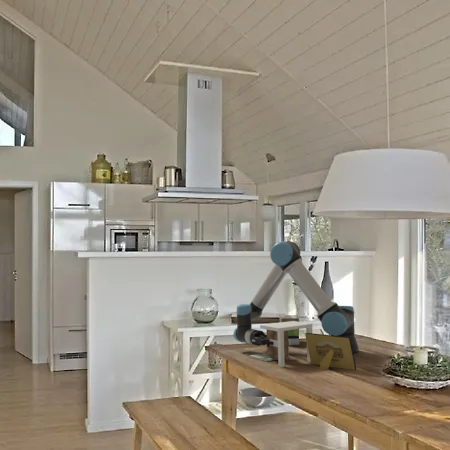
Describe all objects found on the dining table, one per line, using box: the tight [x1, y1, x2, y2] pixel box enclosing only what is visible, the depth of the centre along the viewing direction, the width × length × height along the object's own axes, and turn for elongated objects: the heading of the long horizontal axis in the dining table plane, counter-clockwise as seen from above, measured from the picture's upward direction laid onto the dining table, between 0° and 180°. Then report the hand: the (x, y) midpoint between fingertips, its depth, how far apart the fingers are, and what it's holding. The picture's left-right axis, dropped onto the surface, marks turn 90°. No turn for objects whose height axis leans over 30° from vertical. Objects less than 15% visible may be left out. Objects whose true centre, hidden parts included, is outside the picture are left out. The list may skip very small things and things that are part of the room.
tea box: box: [278, 314, 300, 346], centre depth 339 cm, size 15×10×15 cm, turn 179°
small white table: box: [259, 321, 313, 368], centre depth 288 cm, size 14×20×18 cm
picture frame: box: [304, 332, 357, 371], centre depth 271 cm, size 23×9×15 cm, turn 47°
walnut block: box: [266, 329, 290, 359], centre depth 293 cm, size 9×6×13 cm, turn 33°
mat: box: [249, 352, 290, 362], centre depth 299 cm, size 14×14×1 cm
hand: (284, 343), depth 289 cm, fingers closed on walnut block, 6 cm apart
